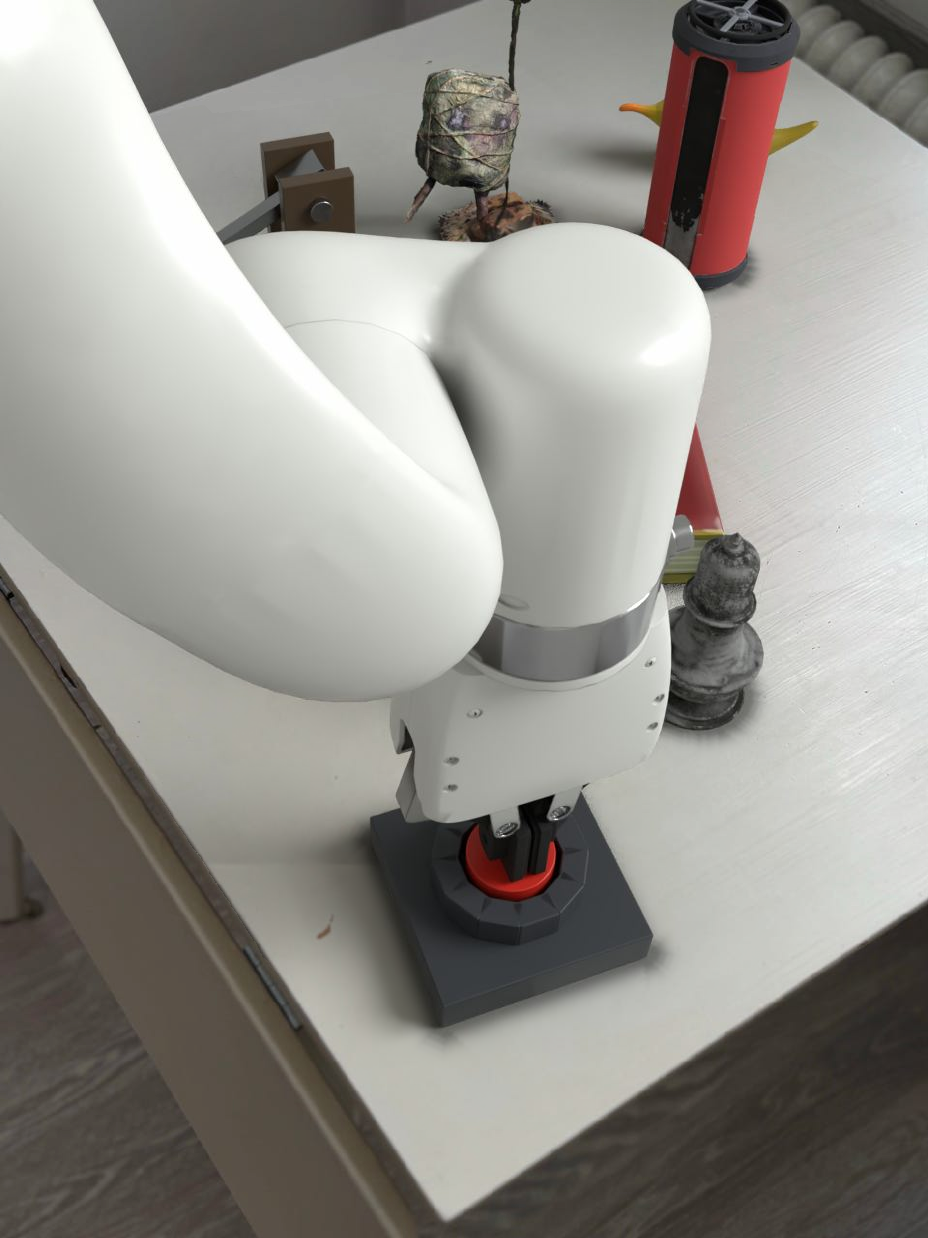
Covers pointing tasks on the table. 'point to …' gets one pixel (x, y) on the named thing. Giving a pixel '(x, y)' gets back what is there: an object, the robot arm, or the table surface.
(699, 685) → the chess piece
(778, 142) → the yellow toy bird
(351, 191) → the lever bracket
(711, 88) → the speaker
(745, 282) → the table surface
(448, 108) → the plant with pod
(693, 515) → the book
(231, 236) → the lever with black knob
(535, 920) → the box
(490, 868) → the button
